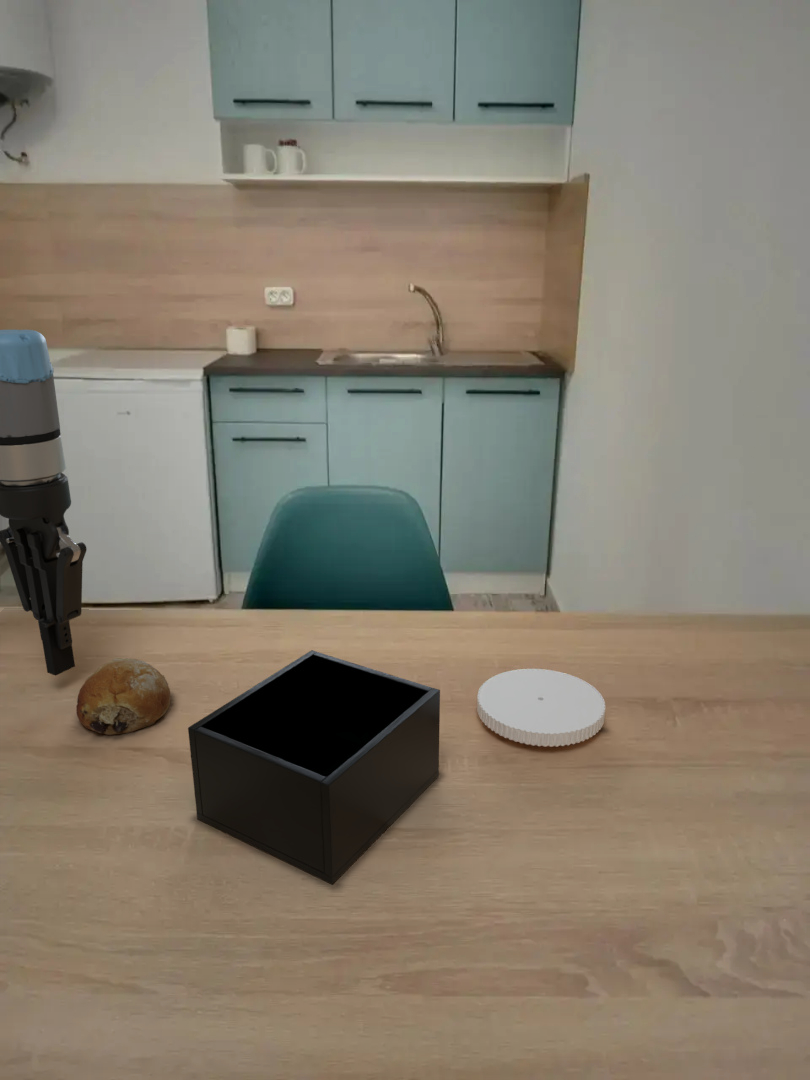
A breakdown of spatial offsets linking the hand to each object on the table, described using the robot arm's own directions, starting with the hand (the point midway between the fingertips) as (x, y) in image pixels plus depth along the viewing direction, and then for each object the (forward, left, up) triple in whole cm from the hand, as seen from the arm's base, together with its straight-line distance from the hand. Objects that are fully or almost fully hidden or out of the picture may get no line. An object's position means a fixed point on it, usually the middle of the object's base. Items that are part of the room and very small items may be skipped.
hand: (61, 669), depth 98 cm
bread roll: (+11, 0, -3) cm, 11 cm away
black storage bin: (+39, 0, -3) cm, 39 cm away
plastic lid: (+51, +24, -3) cm, 56 cm away
